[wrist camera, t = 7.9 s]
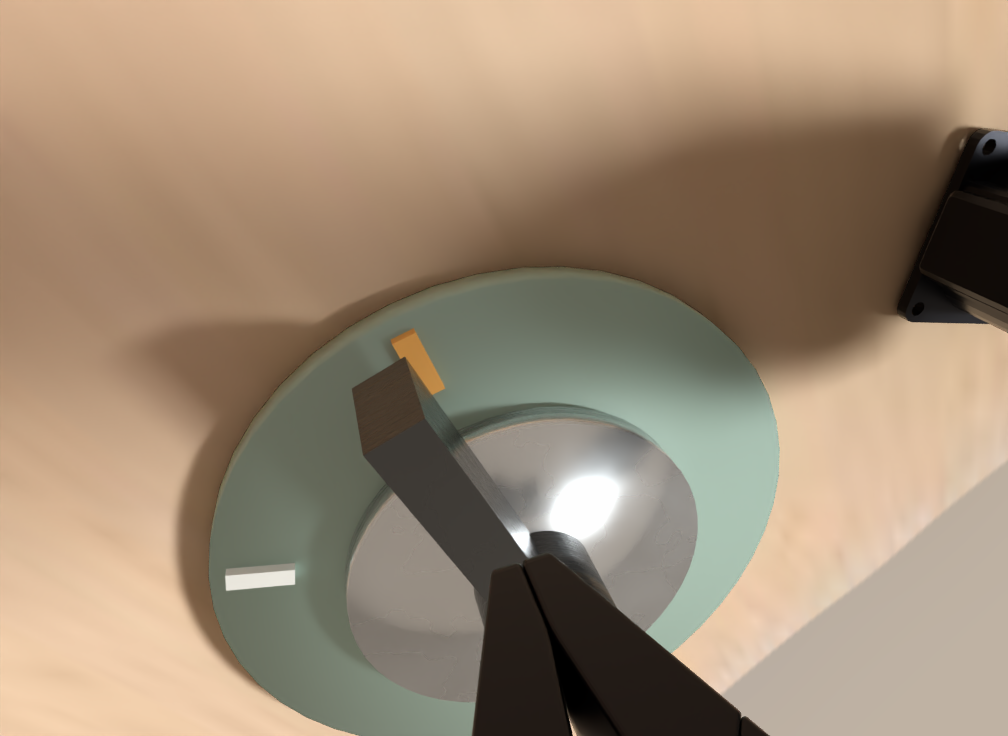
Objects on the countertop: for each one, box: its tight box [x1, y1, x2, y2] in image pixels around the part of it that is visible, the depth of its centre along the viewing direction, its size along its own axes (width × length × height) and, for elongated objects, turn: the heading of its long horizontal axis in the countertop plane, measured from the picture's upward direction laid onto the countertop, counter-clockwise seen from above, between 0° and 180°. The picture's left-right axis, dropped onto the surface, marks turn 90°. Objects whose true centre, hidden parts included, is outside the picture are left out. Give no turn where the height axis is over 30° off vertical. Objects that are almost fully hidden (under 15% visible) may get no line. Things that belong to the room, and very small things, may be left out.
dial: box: [345, 357, 698, 702], centre depth 21 cm, size 16×12×4 cm
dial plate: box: [209, 267, 780, 736], centre depth 24 cm, size 20×20×1 cm
